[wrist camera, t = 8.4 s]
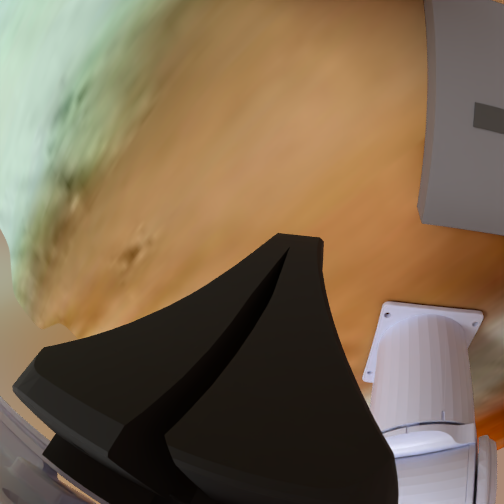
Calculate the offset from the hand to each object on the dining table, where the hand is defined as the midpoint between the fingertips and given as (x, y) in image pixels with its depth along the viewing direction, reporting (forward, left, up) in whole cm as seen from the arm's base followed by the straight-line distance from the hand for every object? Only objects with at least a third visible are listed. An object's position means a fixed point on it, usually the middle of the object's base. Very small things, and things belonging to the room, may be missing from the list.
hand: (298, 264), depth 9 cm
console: (+4, -16, -9) cm, 19 cm away
